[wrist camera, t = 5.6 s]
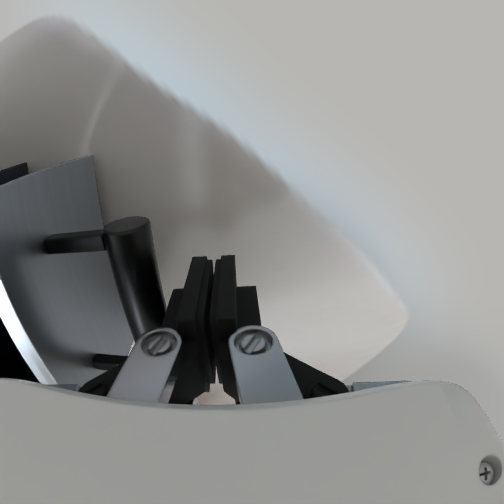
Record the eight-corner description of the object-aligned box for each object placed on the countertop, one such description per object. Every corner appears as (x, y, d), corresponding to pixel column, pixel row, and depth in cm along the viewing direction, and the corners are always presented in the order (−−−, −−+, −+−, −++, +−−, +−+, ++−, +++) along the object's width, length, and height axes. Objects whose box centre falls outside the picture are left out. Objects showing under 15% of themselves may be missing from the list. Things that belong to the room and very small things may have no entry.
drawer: (174, 142, 11) (93, 165, 4) (198, 337, 16) (187, 450, 9) (-37, 195, 11) (-105, 237, 4) (7, 323, 15) (-36, 384, 8)
